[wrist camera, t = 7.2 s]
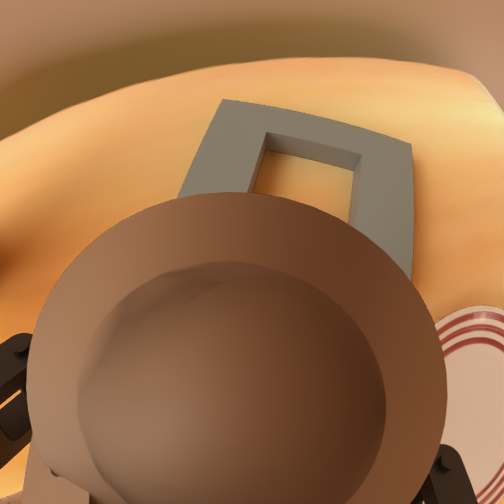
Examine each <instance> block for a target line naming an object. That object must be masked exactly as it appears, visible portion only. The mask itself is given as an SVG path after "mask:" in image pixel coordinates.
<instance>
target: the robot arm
mask: <svg viewBox="0 0 504 504" xmlns="http://www.w3.org/2000/svg"><path fill="white" fill-rule="evenodd" d="M32 336H33V335H32V334H29V333H20V334H16V335H14V336H12V337H11V338H9V339H8V340H6V341H5V342H3V343H2V344H0V405H1V404H2V403H3V402H4V401H6V400H7V399H8V398H9V397H11V396H12V395H13V394H14V393H15V392H17V391H18V390H19V389H20V391H21V393H20V394H18V395H17V396H16V397H15V398H14V399H12V400H11V401H10V402H9V403H7V404H6V405H5V406H4V407H3V408H1V409H0V469H1V468H2V467H3V466H5V465H6V464H7V463H8V462H9V461H10V460H11V459H12V458H13V457H14V456H15V455H17V454H18V453H19V452H20V451H21V450H22V449H23V448H24V447H25V446H26V445H27V444H29V443H30V442H31V444H30V449H29V454H28V460H27V466H26V472H25V479H24V487H23V495H22V504H92V503H91V499H90V494H89V492H87V491H85V490H83V489H82V488H80V487H78V486H76V485H75V484H73V483H71V482H70V481H68V480H67V479H65V478H63V477H62V476H60V477H56V476H54V475H53V474H52V472H51V469H50V468H48V467H47V466H45V464H44V462H43V460H42V458H41V455H40V452H39V450H38V447H37V444H36V441H35V438H34V435H33V431H32V426H31V422H30V417H29V412H28V403H27V391H26V381H27V362H28V356H29V351H30V345H31V340H32ZM423 501H424V503H425V504H478V502H477V499H476V496H475V493H474V490H473V487H472V484H471V482H470V479H469V476H468V474H467V471H466V468H465V466H464V463H463V461H462V458H461V456H460V454H459V453H458V452H457V450H456V449H454V448H453V447H451V446H449V445H446V444H440V446H439V450H438V452H437V455H436V457H435V460H434V462H433V465H432V467H431V469H430V472H429V474H428V476H427V478H426V479H425V481H424V483H423V485H422V486H421V488H420V490H419V491H418V493H417V495H416V496H415V498H414V499H413V500H412V502H411V503H410V504H423Z"/></svg>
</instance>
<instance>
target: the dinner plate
mask: <svg viewBox="0 0 504 504" xmlns="http://www.w3.org/2000/svg"><path fill="white" fill-rule="evenodd" d="M435 327H436V330H437V333H438V336H439V339H440V342H441V345H442V350H443V355H444V360H445V366H446V372H447V393H448V399H447V410H446V419H445V426H444V430H443V434H442V438H441V442H440V444H446V445H449V446H451V447H453V448H454V449H456V450H457V452H458V453H459V454H460V456H461V458H462V461H463V463H464V466H465V468H466V471H467V474H468V476H469V479H470V482H471V484H472V487H473V490H474V493H475V496H476V499H477V502H478V504H498V503H499V502H500V501H501V500H502V498H503V497H504V310H503V309H501V308H498V307H494V306H487V305H479V306H471V307H467V308H463V309H461V310H458V311H456V312H453V313H451V314H450V315H448V316H446V317H444V318H443V319H441V320H440V321H438V322H437V323H435ZM423 504H425V503H424V501H423Z"/></svg>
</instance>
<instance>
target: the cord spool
mask: <svg viewBox="0 0 504 504" xmlns="http://www.w3.org/2000/svg"><path fill="white" fill-rule="evenodd" d="M26 391H27V403H28V412H29V417H30V422H31V426H32V431H33V435H34V438H35V441H36V444H37V447H38V450H39V452H40V455H41V458H42V460H43V462H44V464H45V466H47V467H48V468H50V469H51V472H52V474H53V475H54V476H56V477H60V476H62V477H63V478H65V479H67V480H68V481H70V482H71V483H73V484H75V485H76V486H78V487H80V488H82V489H83V490H85V491H87V492H89V494H90V499H91V503H92V504H410V503H411V502H412V500H413V499H414V498H415V496H416V495H417V493H418V491H419V490H420V488H421V486H422V485H423V483H424V481H425V479H426V478H427V476H428V474H429V472H430V469H431V467H432V465H433V462H434V460H435V457H436V455H437V452H438V450H439V446H440V442H441V438H442V434H443V430H444V426H445V419H446V410H447V399H448V393H447V372H446V366H445V360H444V355H443V350H442V345H441V342H440V339H439V336H438V333H437V330H436V327H435V324H434V322H433V319H432V317H431V315H430V313H429V311H428V309H427V307H426V305H425V303H424V301H423V299H422V297H421V296H420V294H419V292H418V291H417V290H416V288H415V287H414V285H413V284H412V282H411V281H410V280H409V278H408V277H407V275H406V274H405V273H404V271H403V270H402V269H401V268H400V267H399V266H398V265H397V264H396V263H395V262H394V261H393V260H392V258H391V257H390V256H389V255H388V254H387V253H386V252H385V251H384V250H382V249H381V248H380V247H379V246H378V245H376V244H375V243H374V242H373V241H372V240H370V239H369V238H368V237H367V236H365V235H364V234H363V233H361V232H360V231H358V230H356V229H355V228H353V227H352V226H350V225H348V224H347V223H345V222H344V221H342V220H340V219H339V218H336V217H334V216H332V215H330V214H328V213H326V212H323V211H321V210H319V209H317V208H314V207H312V206H309V205H306V204H302V203H299V202H296V201H293V200H289V199H286V198H281V197H276V196H270V195H264V194H258V193H243V192H219V193H206V194H197V195H192V196H188V197H183V198H178V199H173V200H170V201H167V202H164V203H161V204H158V205H155V206H152V207H150V208H147V209H145V210H143V211H141V212H138V213H136V214H134V215H132V216H130V217H128V218H126V219H124V220H122V221H121V222H119V223H118V224H116V225H115V226H113V227H112V228H110V229H109V230H107V231H106V232H104V233H103V234H101V235H100V236H99V237H98V238H97V239H95V240H94V241H93V242H92V243H91V244H90V245H89V246H87V247H86V248H85V249H84V250H83V251H82V252H81V253H80V254H79V255H78V256H77V257H76V258H75V260H74V261H73V262H72V263H71V264H70V265H69V266H68V268H67V269H66V270H65V271H64V272H63V274H62V275H61V277H60V278H59V280H58V281H57V283H56V285H55V286H54V288H53V289H52V291H51V292H50V294H49V296H48V298H47V300H46V302H45V304H44V306H43V309H42V311H41V313H40V315H39V318H38V321H37V324H36V327H35V330H34V333H33V336H32V340H31V345H30V351H29V356H28V362H27V381H26Z"/></svg>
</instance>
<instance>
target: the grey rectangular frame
mask: <svg viewBox="0 0 504 504" xmlns="http://www.w3.org/2000/svg"><path fill="white" fill-rule="evenodd" d="M265 150H270V151H275V152H280V153H284V154H289V155H293V156H298V157H302V158H306V159H310V160H315V161H319V162H323V163H327V164H330V165H334V166H338V167H342V168H345V169H349V170H353V171H354V176H353V186H352V195H351V204H350V212H349V220H348V225H350V226H352V227H353V228H355V229H356V230H358V231H360V232H361V233H363V234H364V235H365V236H367V237H368V238H369V239H370V240H372V241H373V242H374V243H375V244H376V245H378V246H379V247H380V248H381V249H382V250H384V251H385V252H386V253H387V254H388V255H389V256H390V257H391V258H392V260H393V261H394V262H395V263H396V264H397V265H398V266H399V267H400V268H401V269H402V270H403V271H404V273H405V274H406V275H407V277H408V278H409V280H410V281H411V276H412V262H413V244H414V178H413V159H412V146H411V144H409V143H406V142H404V141H401V140H398V139H395V138H392V137H389V136H386V135H383V134H380V133H377V132H373V131H370V130H367V129H364V128H360V127H357V126H353V125H350V124H346V123H342V122H339V121H335V120H331V119H327V118H323V117H319V116H315V115H310V114H306V113H301V112H297V111H292V110H287V109H282V108H277V107H271V106H266V105H260V104H254V103H247V102H240V101H233V100H226V99H223V100H222V102H221V104H220V105H219V107H218V109H217V111H216V113H215V115H214V118H213V120H212V122H211V124H210V126H209V128H208V130H207V132H206V134H205V136H204V138H203V140H202V143H201V145H200V147H199V149H198V151H197V153H196V156H195V158H194V160H193V162H192V165H191V167H190V169H189V171H188V174H187V176H186V178H185V181H184V183H183V185H182V188H181V190H180V192H179V195H178V197H177V199H178V198H183V197H188V196H192V195H197V194H206V193H219V192H243V193H252V192H253V189H254V186H255V182H256V179H257V176H258V173H259V169H260V166H261V163H262V160H263V157H264V153H265Z"/></svg>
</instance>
